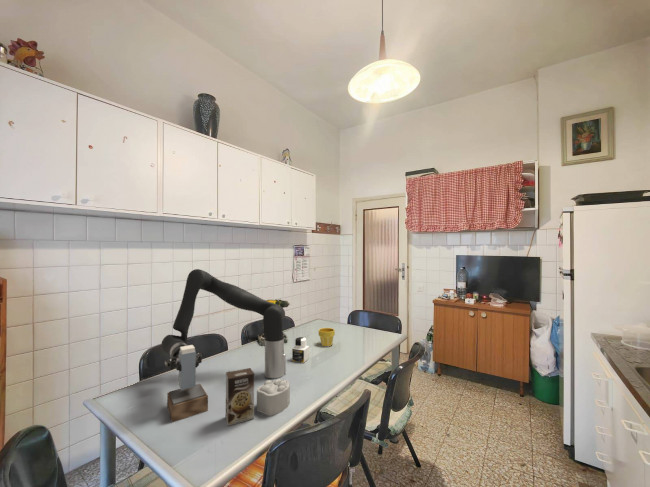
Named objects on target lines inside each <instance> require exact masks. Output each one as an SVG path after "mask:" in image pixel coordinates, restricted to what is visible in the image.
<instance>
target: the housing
mask: <svg viewBox="0 0 650 487" xmlns="http://www.w3.org/2000/svg"><path fill="white" fill-rule="evenodd" d="M187 345H188V346H183V347H180V351H179V362H180V364H181V366H182V370H181V371H179V370H178V386H179V389H181V390H183V389H187V388H191V387H194V386H196V384H197V383H196V379H197V378H196V374H197V370H196V369H197V368H196V355H197V352H196V347H195V346H194V345H193V344H190V345H189V344H187Z"/></svg>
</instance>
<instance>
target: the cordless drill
mask: <svg viewBox="0 0 650 487" xmlns="http://www.w3.org/2000/svg"><path fill="white" fill-rule="evenodd" d="M265 300H266V299H265ZM266 301H268V302H271V303H274V304H277V305H280V306H281V307H282V308H283V309H284V308H288V307H289V306H290V305H291V303H290V302H289V301H288V300H282V299H267V300H266ZM257 340H259V341H258V343H259V344H260V345H261V346H264V347H265V336H264V333H260V334H257ZM288 340H289V339H288V336H287V334H285V333H284V344H286V343H288Z"/></svg>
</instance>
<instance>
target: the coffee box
mask: <svg viewBox="0 0 650 487" xmlns="http://www.w3.org/2000/svg"><path fill="white" fill-rule="evenodd" d="M253 419H255V373H254V371H253V370H252V368H250V367H249V368H248V367H247V368H244V369H243V368H241V369H237V370H231V371H227V372H225V420H226V424H227V426H232V425H236V424H240V423H244V422H246V421H250V420H253Z"/></svg>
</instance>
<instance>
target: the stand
mask: <svg viewBox="0 0 650 487" xmlns="http://www.w3.org/2000/svg"><path fill="white" fill-rule="evenodd" d="M166 396H167V399H166V401H167V405H166V407H167V411H168V414H169V417H170V421H171V423H174V422H177V421H180V420H183V419H186V418H189V417H193V416H196V415H198V414H202V413H205V412H208V411H209V396H208V394H207V392H206V390H205V388H204V387H203V385H202V384H201V383H196V386H194V387H191V388H187V389H183V390H181V389H180V388H178V389H175V390H171V391H170V390H169V392H167V393H166Z"/></svg>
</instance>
